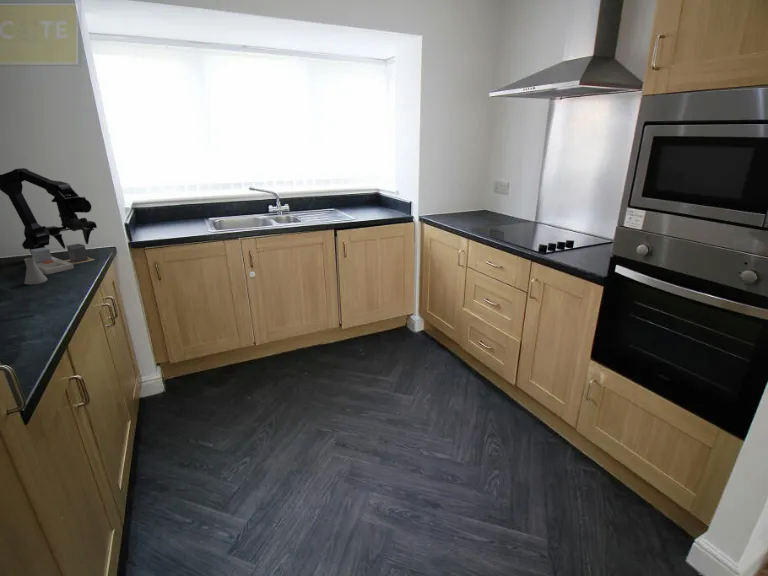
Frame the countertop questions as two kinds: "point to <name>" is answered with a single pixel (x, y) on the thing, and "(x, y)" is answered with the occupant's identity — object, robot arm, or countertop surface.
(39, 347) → the countertop surface
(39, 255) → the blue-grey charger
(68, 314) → the countertop surface
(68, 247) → the block
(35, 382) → the countertop surface
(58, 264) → the power strip
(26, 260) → the flask
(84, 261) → the cork pad
